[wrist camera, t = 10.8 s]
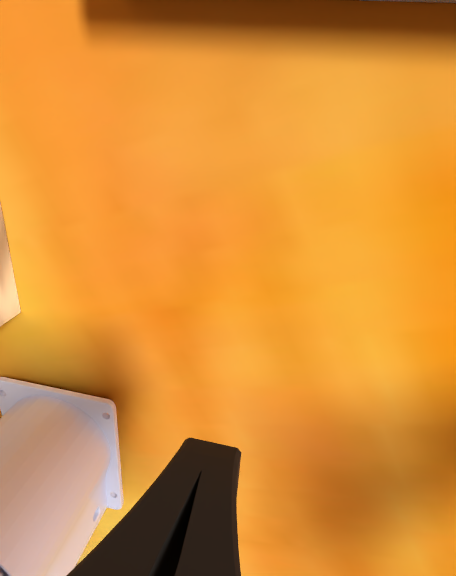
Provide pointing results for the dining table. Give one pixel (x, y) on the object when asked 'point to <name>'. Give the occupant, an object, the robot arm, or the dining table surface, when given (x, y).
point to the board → (6, 279)
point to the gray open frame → (439, 0)
